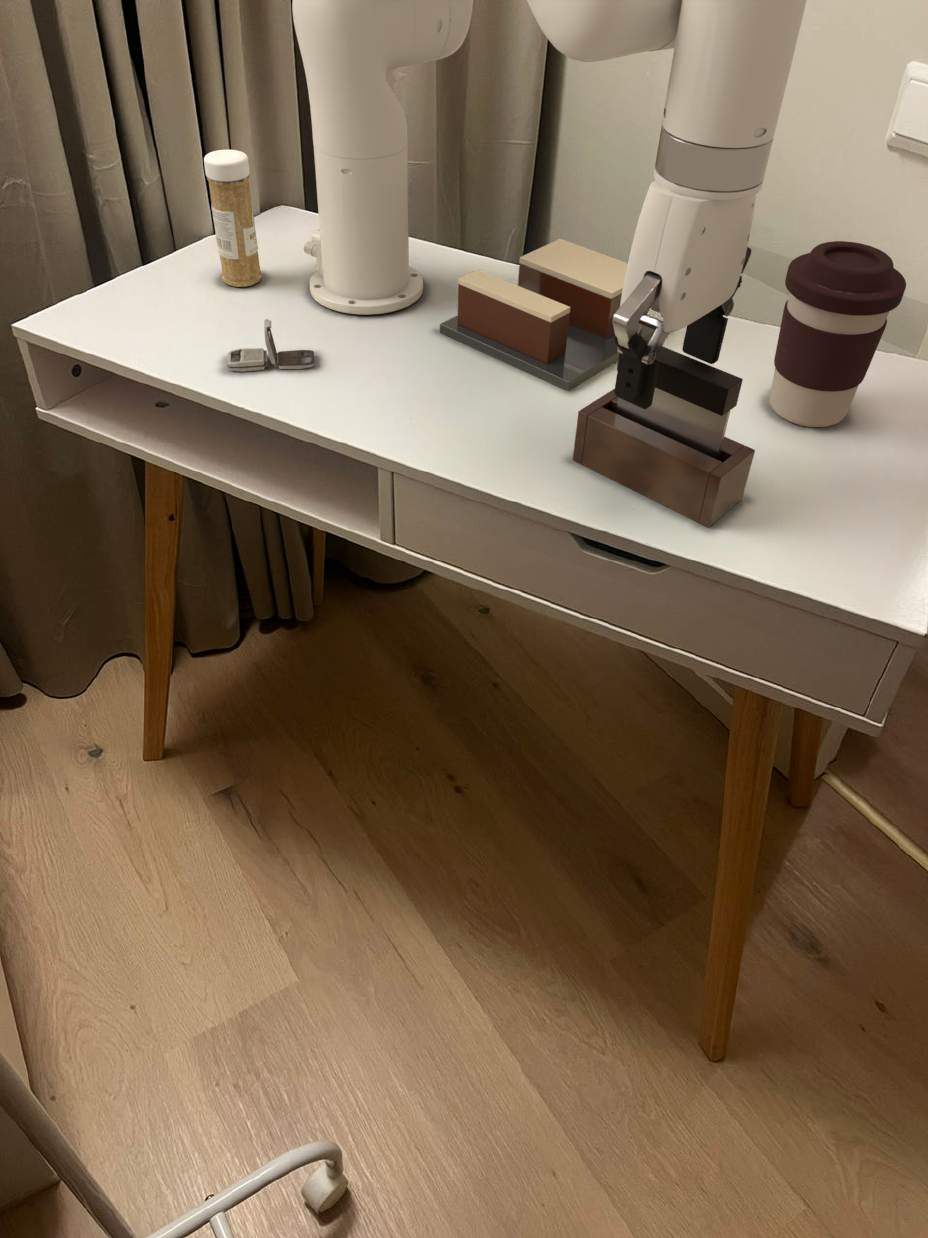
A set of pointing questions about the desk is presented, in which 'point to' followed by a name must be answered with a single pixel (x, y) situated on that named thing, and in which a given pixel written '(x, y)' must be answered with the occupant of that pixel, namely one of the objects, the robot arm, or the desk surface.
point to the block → (661, 463)
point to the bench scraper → (688, 402)
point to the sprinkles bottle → (233, 216)
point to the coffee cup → (831, 329)
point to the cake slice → (513, 316)
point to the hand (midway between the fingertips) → (666, 378)
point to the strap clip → (258, 356)
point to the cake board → (560, 368)
